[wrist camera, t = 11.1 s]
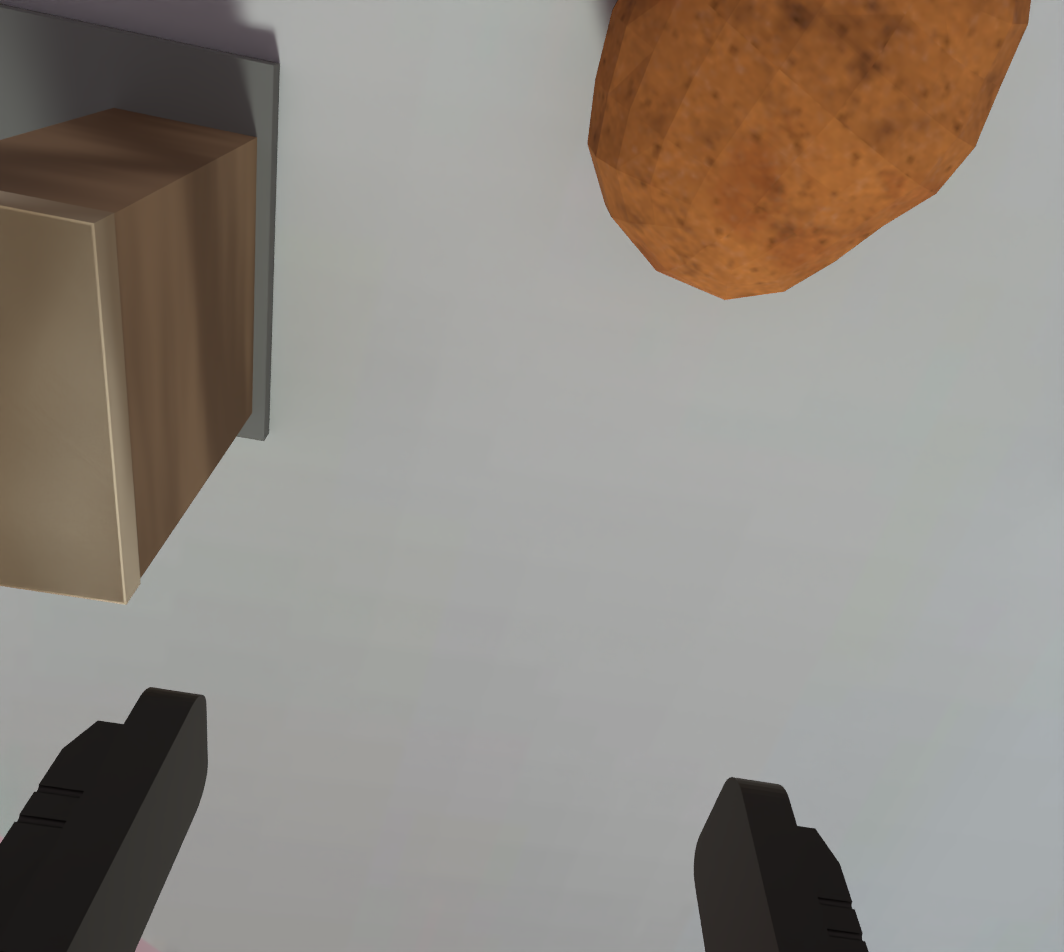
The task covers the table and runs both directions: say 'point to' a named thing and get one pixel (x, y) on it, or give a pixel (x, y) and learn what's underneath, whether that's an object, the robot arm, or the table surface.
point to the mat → (158, 90)
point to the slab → (118, 340)
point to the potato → (786, 125)
